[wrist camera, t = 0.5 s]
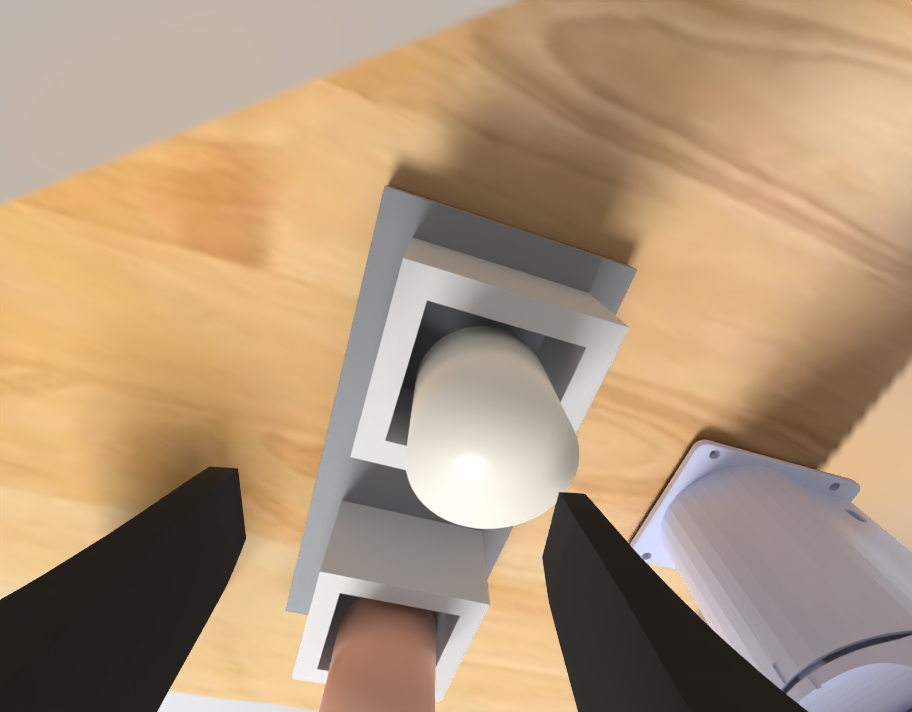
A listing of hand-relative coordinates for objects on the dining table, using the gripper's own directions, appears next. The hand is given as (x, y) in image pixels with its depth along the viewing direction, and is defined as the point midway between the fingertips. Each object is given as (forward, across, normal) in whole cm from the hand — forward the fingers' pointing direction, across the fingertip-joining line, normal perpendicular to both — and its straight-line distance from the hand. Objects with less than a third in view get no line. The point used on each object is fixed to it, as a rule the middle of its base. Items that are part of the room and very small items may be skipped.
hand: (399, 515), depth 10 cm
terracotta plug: (+6, 0, +12) cm, 13 cm away
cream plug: (+6, -2, -1) cm, 6 cm away
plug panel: (+10, -1, +6) cm, 11 cm away
